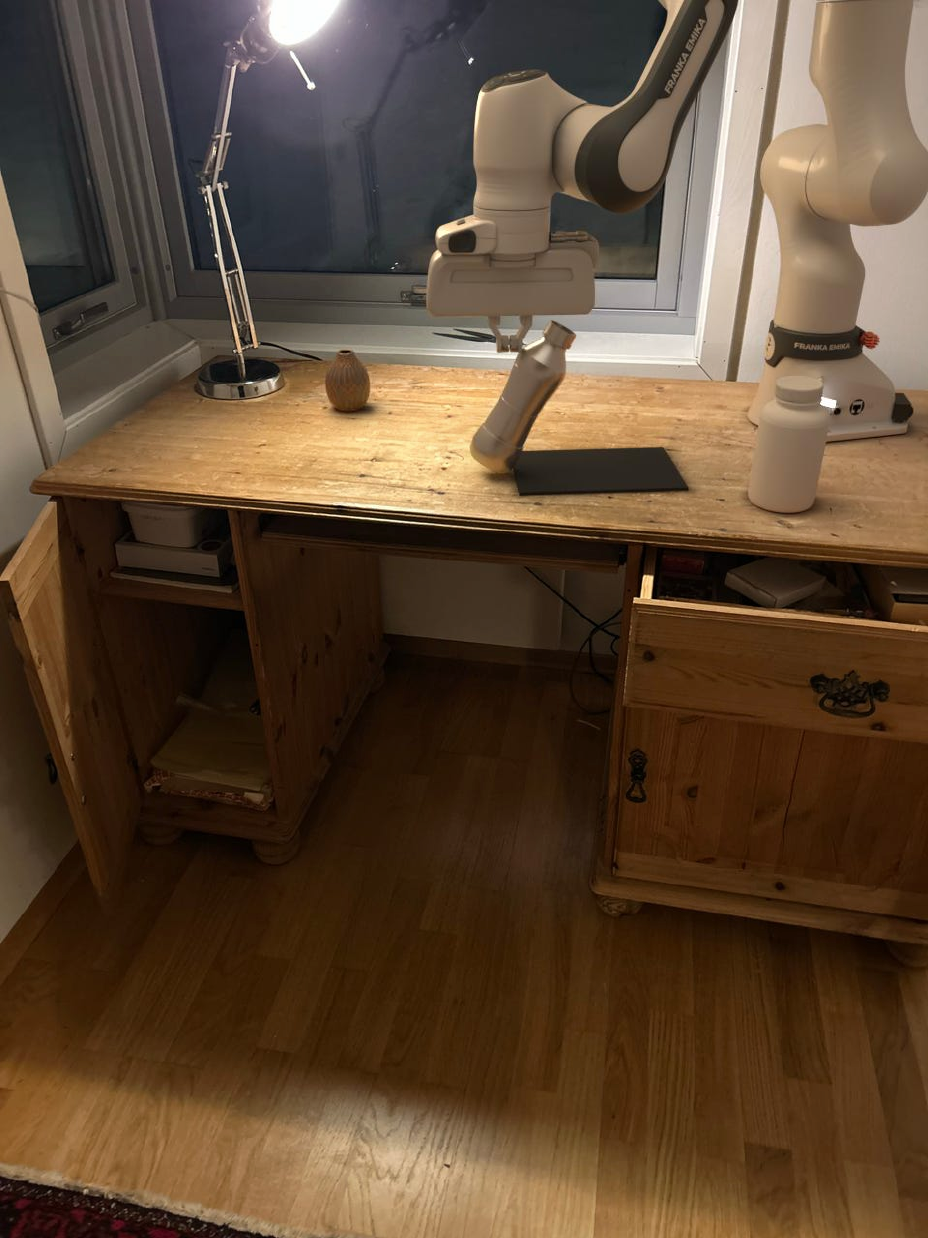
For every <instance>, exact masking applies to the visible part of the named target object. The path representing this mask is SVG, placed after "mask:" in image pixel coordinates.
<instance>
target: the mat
mask: <svg viewBox="0 0 928 1238" xmlns="http://www.w3.org/2000/svg"><path fill="white" fill-rule="evenodd" d="M512 471H513V474H514V479H515V483H516V487H517V490H518V495H519V496H540V495H541V496H542V495H543V496H544V495H575V494H576V495H577V494H578V495H579V494H607V493H608V494H609V493H610V494H611V493H612V494H613V493H614V494H615V493H644V492H676V491H677V492H678V491H680V492H681V491H689V486H688V484H687V483H686V481H685V479H684V478H683V476H682V475H681V474H680V471H679V470H678V468H677V467H676V465H675V464H674V462H673V461H672V459H671V457H670V456H669V454H668V452H667V451H666V449H665V448H664V446H650V447H644V446H643V447H615V448H614V447H613V448H609V447H608V448H579V449H577V448H576V449H573V448H572V449H542V450H541V449H537V450H522V453H521V456H520V458H519V461H518V462H517V464H516V465H515V466H514V467H513V468H512Z"/></svg>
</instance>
